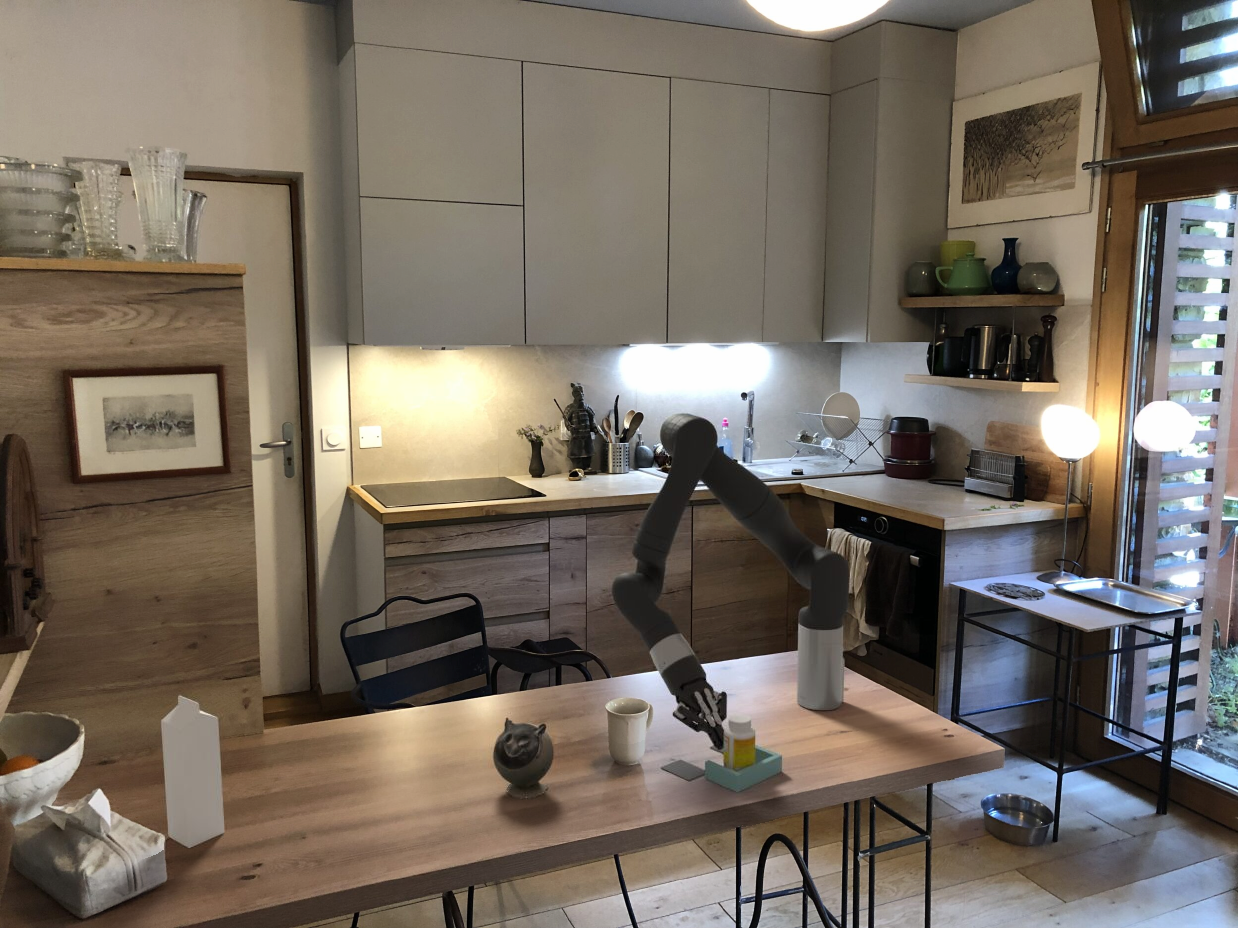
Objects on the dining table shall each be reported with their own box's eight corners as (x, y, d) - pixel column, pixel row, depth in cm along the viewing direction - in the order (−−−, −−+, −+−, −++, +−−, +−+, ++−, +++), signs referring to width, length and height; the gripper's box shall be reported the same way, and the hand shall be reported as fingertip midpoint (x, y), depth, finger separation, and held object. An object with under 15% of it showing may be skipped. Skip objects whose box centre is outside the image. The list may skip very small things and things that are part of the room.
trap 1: (680, 760, 177) (680, 759, 177) (708, 772, 172) (708, 771, 172) (660, 768, 174) (660, 767, 174) (688, 781, 169) (688, 779, 169)
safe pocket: (749, 758, 178) (749, 742, 178) (781, 771, 172) (782, 755, 172) (704, 777, 170) (705, 761, 170) (737, 792, 164) (737, 775, 164)
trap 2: (727, 740, 186) (727, 739, 186) (755, 751, 181) (755, 750, 181) (709, 747, 183) (709, 746, 183) (738, 759, 177) (738, 758, 177)
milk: (204, 822, 155) (196, 689, 153) (225, 833, 152) (218, 697, 149) (167, 837, 150) (159, 700, 148) (188, 849, 147) (180, 708, 144)
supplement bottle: (761, 773, 172) (762, 717, 171) (742, 783, 168) (743, 726, 167) (735, 763, 176) (736, 709, 174) (716, 773, 172) (717, 718, 170)
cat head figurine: (490, 804, 161) (552, 802, 161) (487, 735, 160) (550, 733, 159) (499, 777, 171) (557, 775, 171) (495, 712, 170) (554, 710, 169)
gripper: (662, 661, 174) (710, 747, 167) (712, 646, 183) (760, 728, 176) (641, 681, 179) (688, 766, 172) (691, 666, 188) (737, 746, 180)
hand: (724, 747), depth 174 cm, fingers closed
